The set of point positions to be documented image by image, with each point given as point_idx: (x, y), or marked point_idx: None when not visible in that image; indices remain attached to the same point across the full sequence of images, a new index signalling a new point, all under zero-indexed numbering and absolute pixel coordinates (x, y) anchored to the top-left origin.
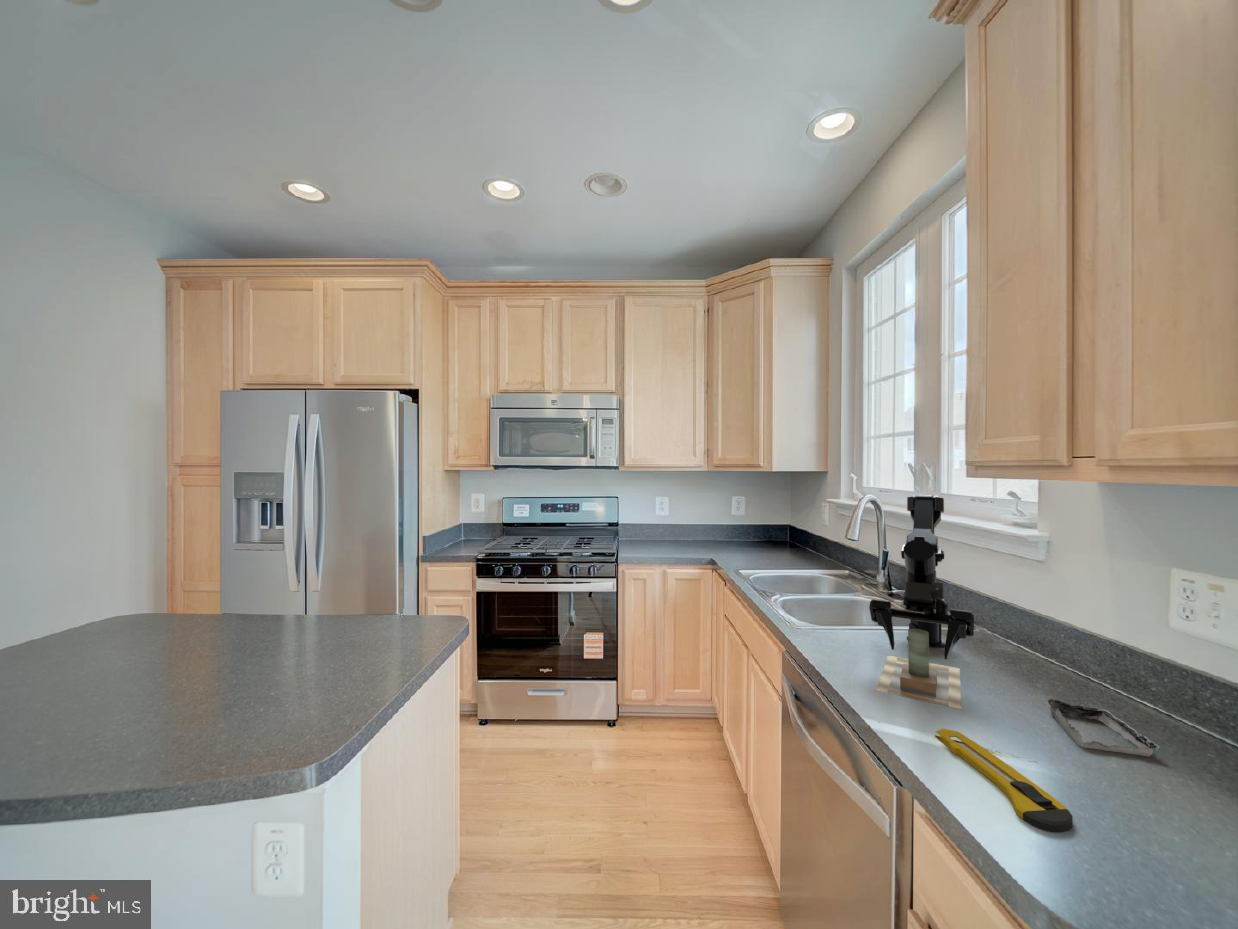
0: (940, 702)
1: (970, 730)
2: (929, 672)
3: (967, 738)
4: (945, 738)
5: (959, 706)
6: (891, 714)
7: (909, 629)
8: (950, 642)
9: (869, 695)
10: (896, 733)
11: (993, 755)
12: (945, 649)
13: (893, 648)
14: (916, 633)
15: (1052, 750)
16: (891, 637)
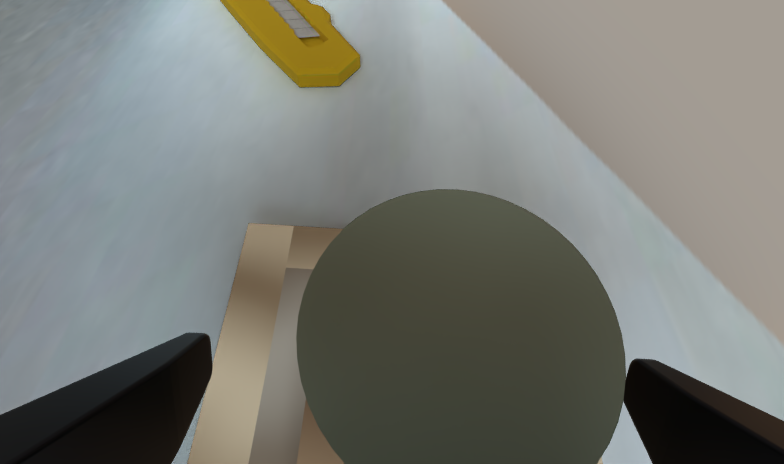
0: (319, 246)
1: (255, 138)
2: (340, 461)
3: (281, 46)
4: (336, 32)
5: (250, 243)
6: (475, 136)
7: (612, 375)
8: (25, 413)
9: (574, 241)
10: (448, 51)
11: (240, 4)
12: (160, 361)
13: (630, 366)
14: (475, 207)
15: (54, 123)
16: (743, 415)
